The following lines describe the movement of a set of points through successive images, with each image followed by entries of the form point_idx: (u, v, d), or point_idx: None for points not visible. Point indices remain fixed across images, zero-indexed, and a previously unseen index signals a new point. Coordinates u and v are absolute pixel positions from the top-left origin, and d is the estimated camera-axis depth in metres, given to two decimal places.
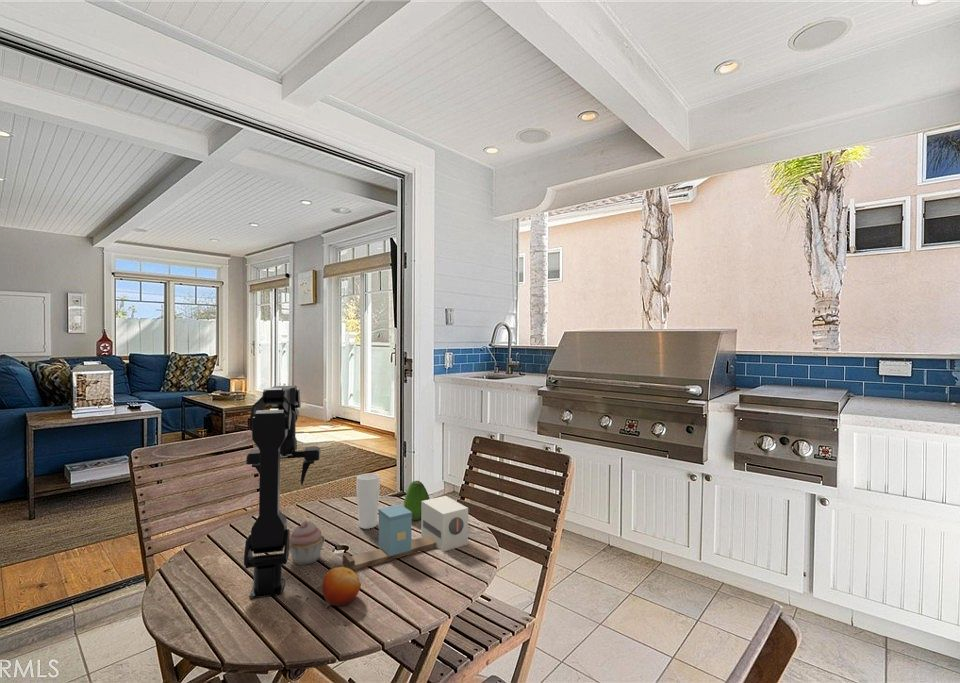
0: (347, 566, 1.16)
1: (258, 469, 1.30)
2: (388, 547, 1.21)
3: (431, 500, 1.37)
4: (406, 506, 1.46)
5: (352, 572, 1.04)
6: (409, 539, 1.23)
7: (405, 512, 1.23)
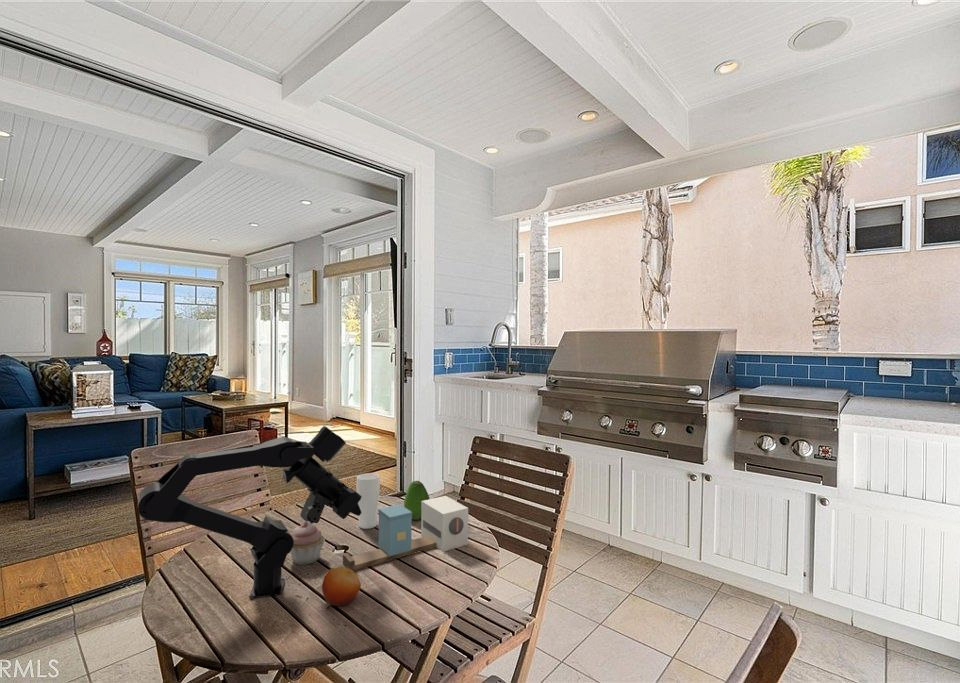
0: (347, 566, 1.16)
1: None
2: (388, 547, 1.21)
3: (431, 500, 1.37)
4: (406, 506, 1.46)
5: (352, 572, 1.04)
6: (409, 539, 1.23)
7: (405, 512, 1.23)
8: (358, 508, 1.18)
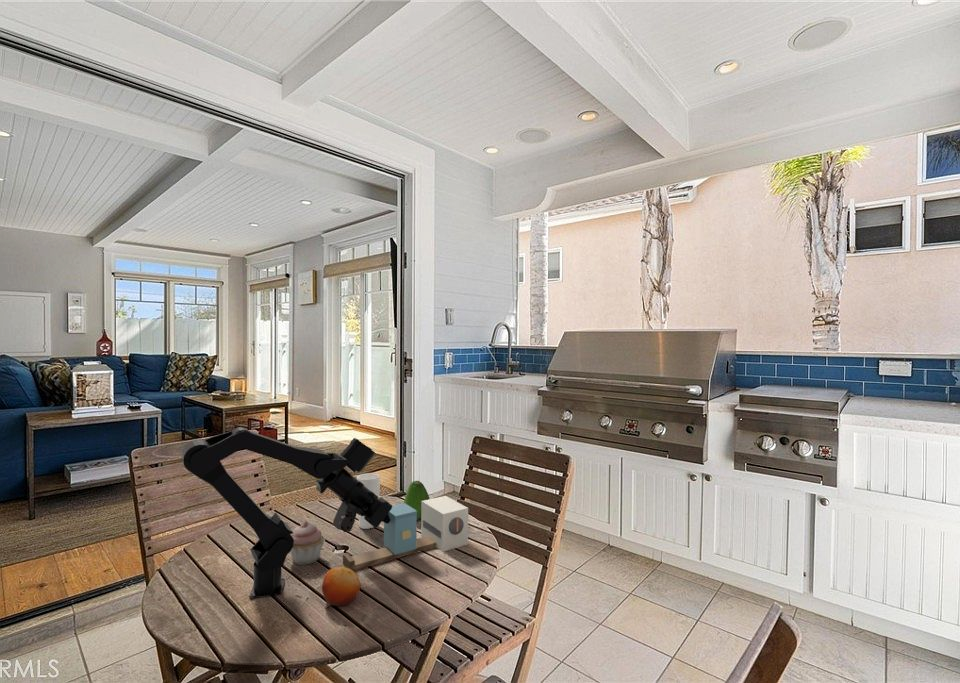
0: (347, 566, 1.16)
1: None
2: (393, 545, 1.22)
3: (431, 500, 1.37)
4: None
5: (352, 572, 1.04)
6: (414, 538, 1.24)
7: (410, 511, 1.24)
8: (387, 516, 1.23)
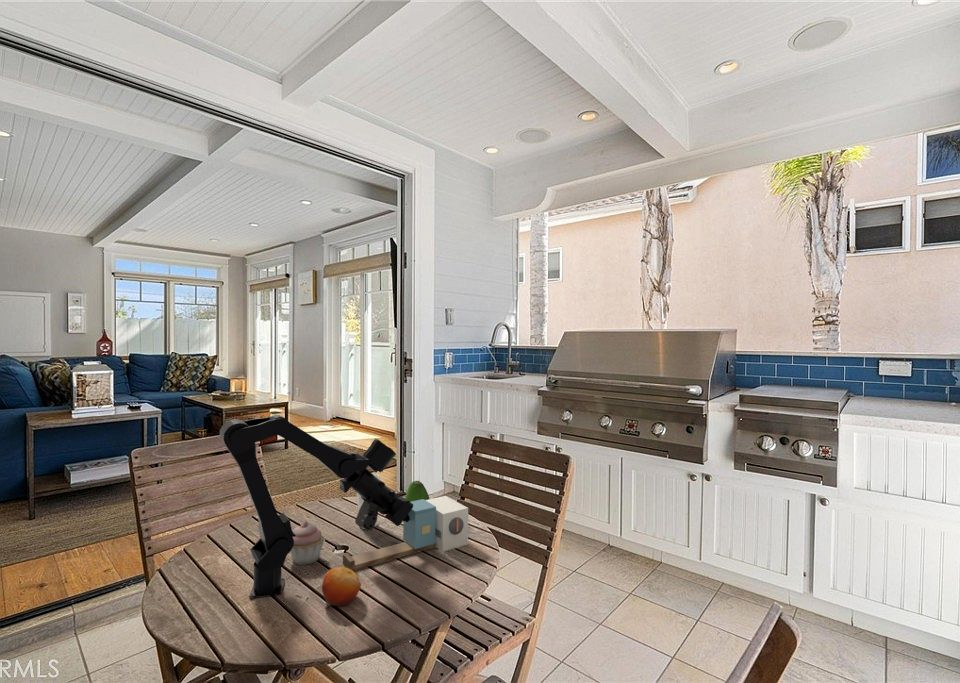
0: (347, 566, 1.16)
1: None
2: (413, 540, 1.25)
3: (431, 500, 1.37)
4: None
5: (352, 572, 1.04)
6: (433, 533, 1.28)
7: (429, 506, 1.28)
8: (407, 515, 1.26)
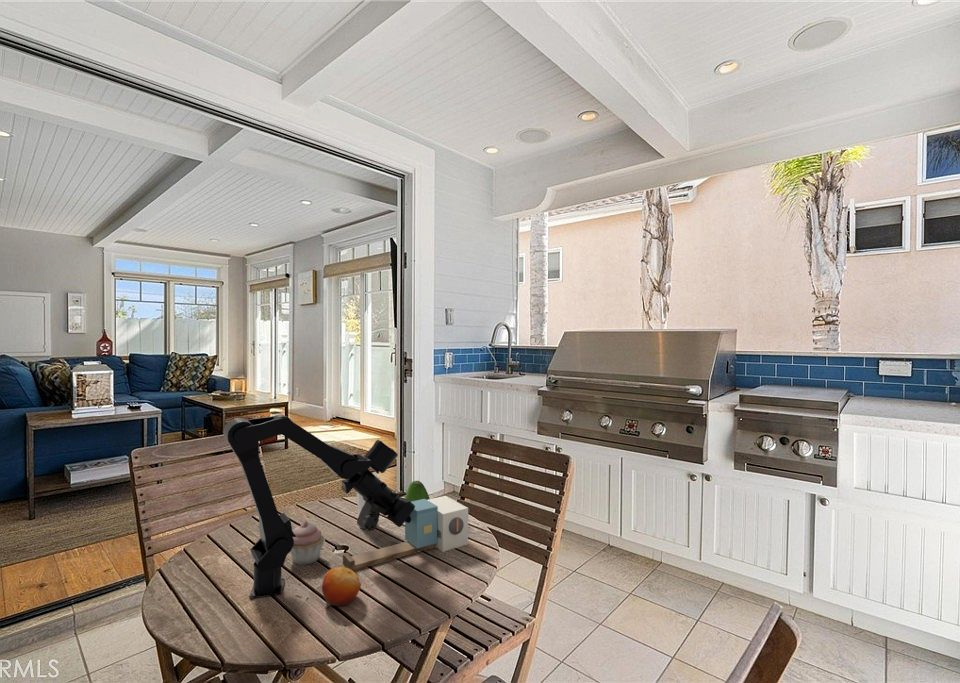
0: (347, 566, 1.16)
1: None
2: (414, 540, 1.26)
3: (431, 500, 1.37)
4: None
5: (352, 572, 1.04)
6: (435, 532, 1.28)
7: (431, 506, 1.28)
8: (408, 516, 1.26)
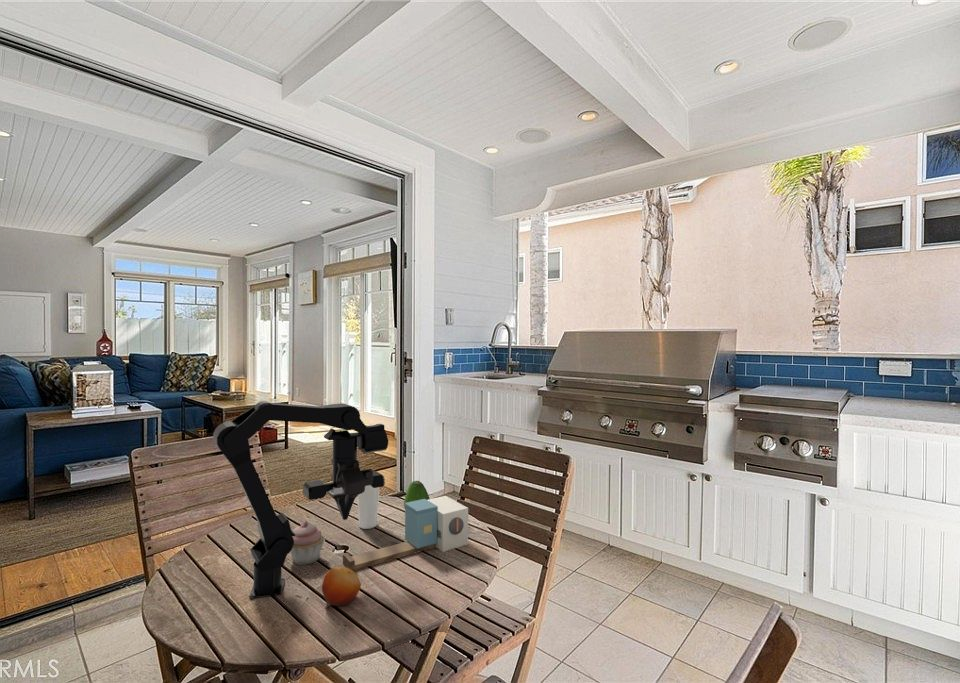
0: (347, 566, 1.16)
1: None
2: (414, 540, 1.26)
3: (431, 500, 1.37)
4: None
5: (352, 572, 1.04)
6: (435, 532, 1.28)
7: (431, 506, 1.28)
8: None
